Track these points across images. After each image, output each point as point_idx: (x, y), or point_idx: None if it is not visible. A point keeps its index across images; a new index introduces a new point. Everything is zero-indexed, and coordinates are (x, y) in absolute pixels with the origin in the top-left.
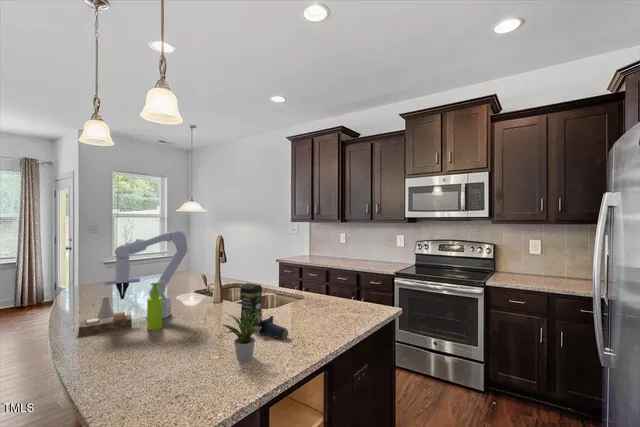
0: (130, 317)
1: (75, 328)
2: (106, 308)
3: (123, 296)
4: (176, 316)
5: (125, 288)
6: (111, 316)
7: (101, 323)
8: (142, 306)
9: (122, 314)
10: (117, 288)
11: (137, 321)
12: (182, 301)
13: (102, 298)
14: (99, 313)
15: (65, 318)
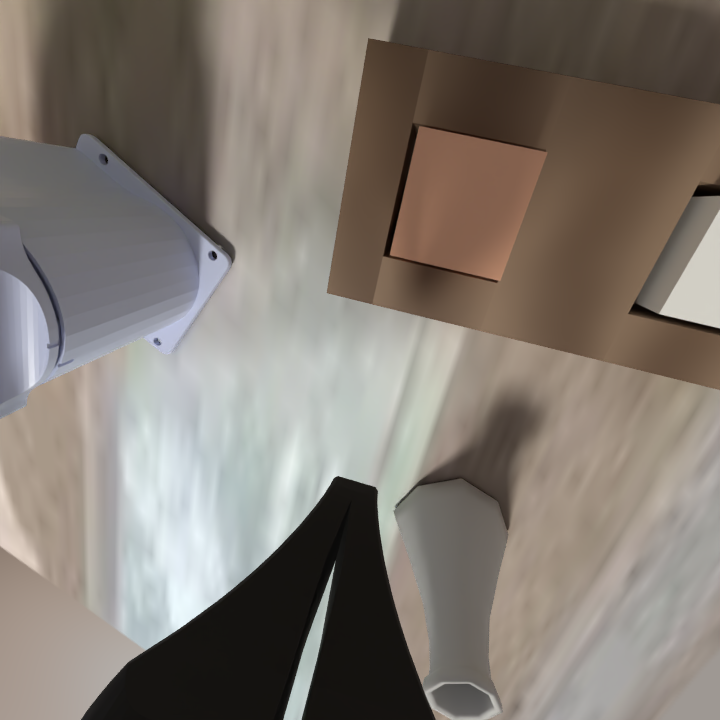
0: (358, 152)
1: (716, 433)
2: (461, 564)
3: (333, 501)
4: (6, 131)
5: (240, 626)
6: (425, 492)
7: (694, 134)
8: (216, 565)
9: (445, 145)
10: (433, 718)
11: (299, 243)
12: (2, 489)
13: (499, 700)
14: (498, 557)
15: (627, 671)
